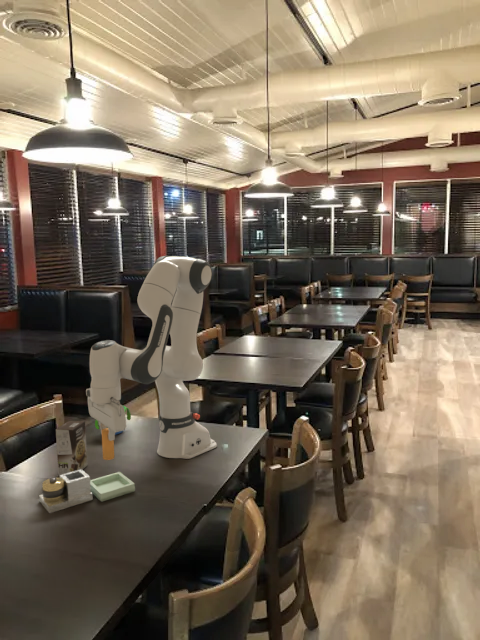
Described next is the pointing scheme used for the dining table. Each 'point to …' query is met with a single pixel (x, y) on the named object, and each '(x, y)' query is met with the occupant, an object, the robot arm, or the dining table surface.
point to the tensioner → (66, 491)
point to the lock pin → (107, 445)
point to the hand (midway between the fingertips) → (107, 437)
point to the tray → (111, 486)
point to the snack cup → (127, 419)
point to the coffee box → (71, 447)
